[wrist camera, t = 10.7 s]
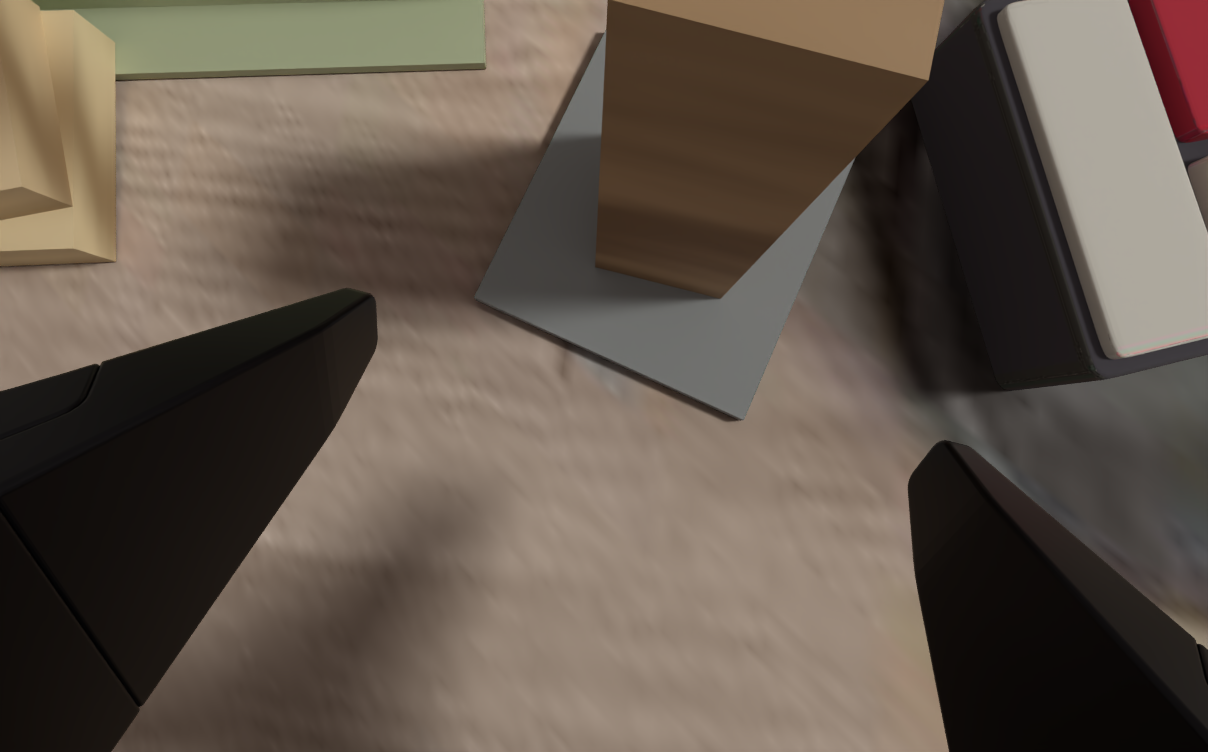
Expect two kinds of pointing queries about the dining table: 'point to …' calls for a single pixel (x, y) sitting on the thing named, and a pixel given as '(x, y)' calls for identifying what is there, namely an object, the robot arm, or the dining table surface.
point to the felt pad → (636, 306)
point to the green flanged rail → (284, 36)
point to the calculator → (1076, 182)
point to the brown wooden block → (740, 122)
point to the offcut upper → (28, 118)
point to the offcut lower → (75, 152)
